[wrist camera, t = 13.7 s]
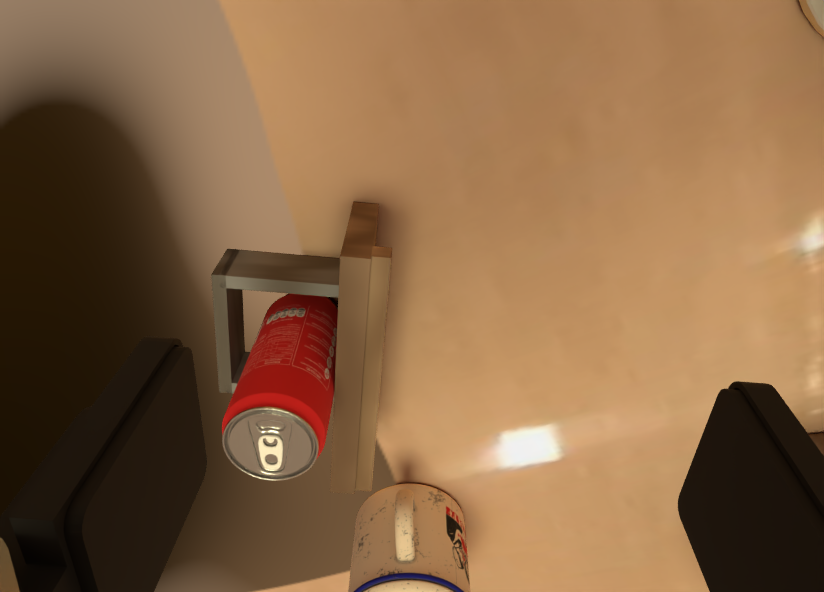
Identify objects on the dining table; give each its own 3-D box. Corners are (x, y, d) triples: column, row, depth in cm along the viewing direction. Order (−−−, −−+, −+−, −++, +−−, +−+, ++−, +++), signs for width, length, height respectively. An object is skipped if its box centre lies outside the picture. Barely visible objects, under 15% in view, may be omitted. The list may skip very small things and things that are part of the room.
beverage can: (347, 287, 40) (323, 407, 30) (346, 354, 43) (323, 487, 32) (265, 281, 40) (212, 401, 30) (269, 349, 43) (221, 481, 32)
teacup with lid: (467, 557, 53) (479, 703, 42) (358, 560, 53) (344, 706, 43) (466, 447, 47) (480, 587, 37) (343, 451, 47) (323, 591, 37)
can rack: (395, 205, 38) (391, 260, 31) (377, 415, 45) (370, 495, 39) (224, 190, 37) (183, 242, 31) (235, 404, 45) (204, 482, 38)
